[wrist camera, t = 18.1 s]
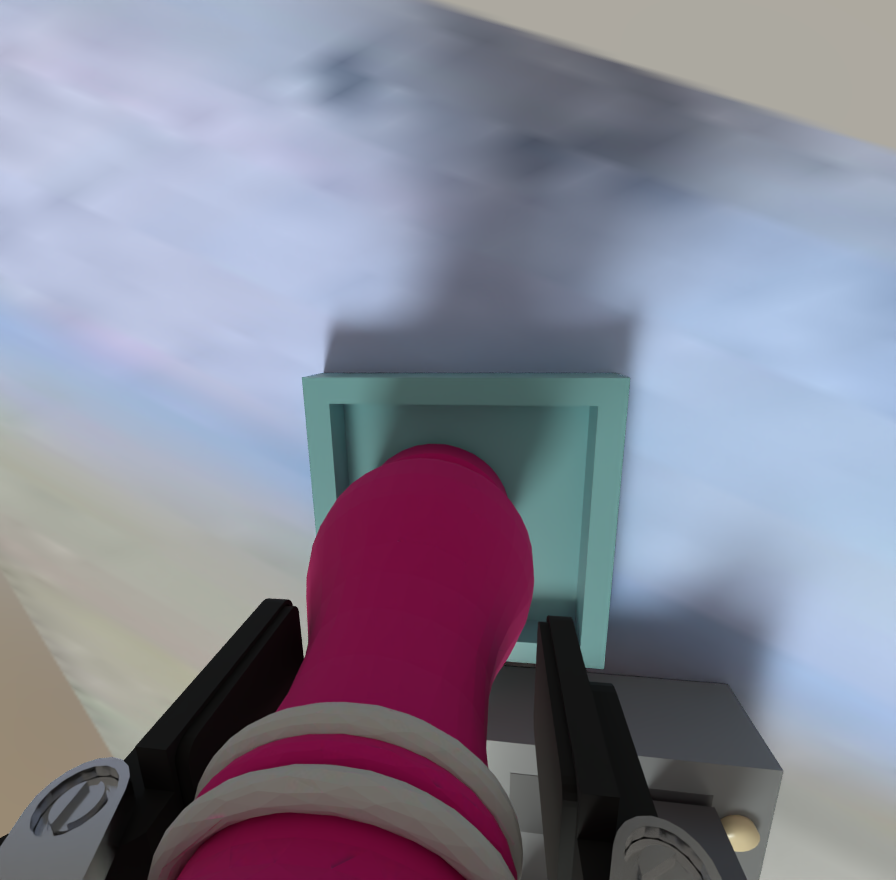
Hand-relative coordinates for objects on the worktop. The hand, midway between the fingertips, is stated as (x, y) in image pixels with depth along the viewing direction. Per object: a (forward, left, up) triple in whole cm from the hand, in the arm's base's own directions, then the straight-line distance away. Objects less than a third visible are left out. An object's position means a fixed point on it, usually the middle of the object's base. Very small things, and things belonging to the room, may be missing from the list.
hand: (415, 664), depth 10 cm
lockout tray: (0, 0, -9) cm, 9 cm away
